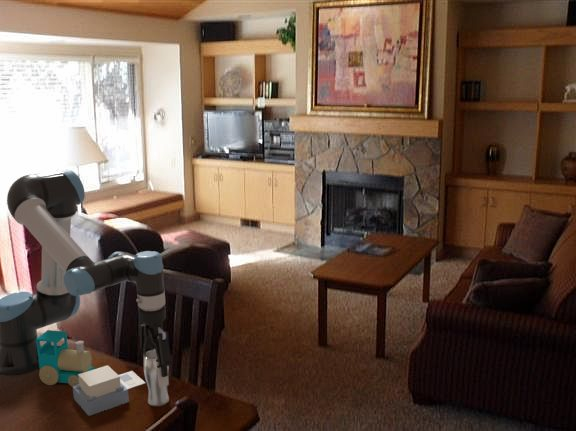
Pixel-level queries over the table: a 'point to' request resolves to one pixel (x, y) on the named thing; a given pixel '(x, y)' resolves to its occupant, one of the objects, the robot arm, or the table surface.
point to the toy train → (61, 359)
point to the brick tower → (99, 390)
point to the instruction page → (130, 380)
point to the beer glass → (154, 380)
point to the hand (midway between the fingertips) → (157, 379)
